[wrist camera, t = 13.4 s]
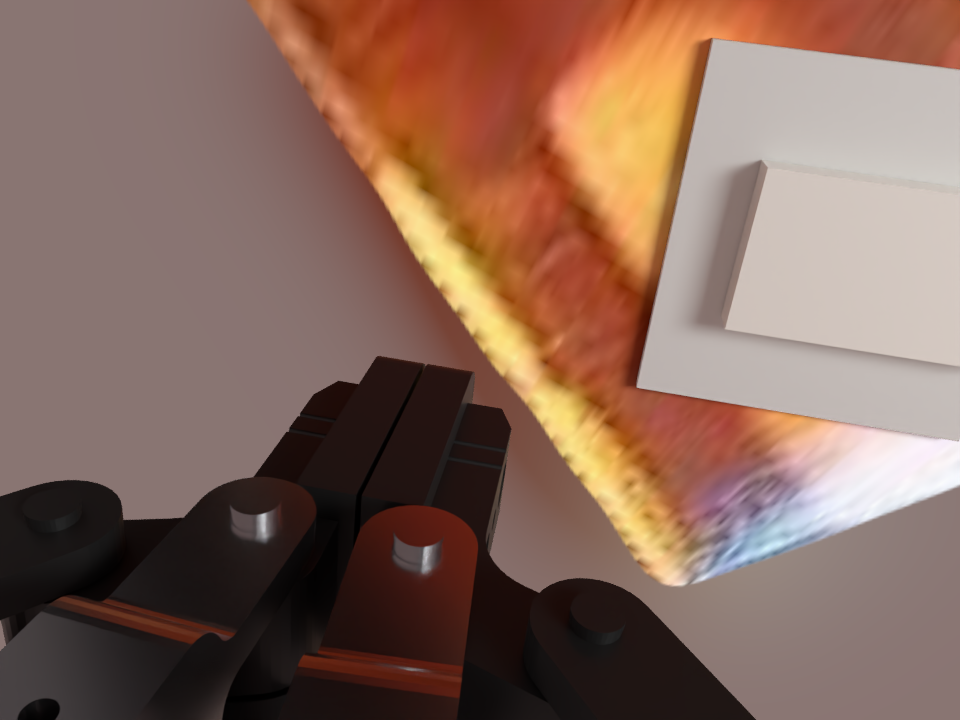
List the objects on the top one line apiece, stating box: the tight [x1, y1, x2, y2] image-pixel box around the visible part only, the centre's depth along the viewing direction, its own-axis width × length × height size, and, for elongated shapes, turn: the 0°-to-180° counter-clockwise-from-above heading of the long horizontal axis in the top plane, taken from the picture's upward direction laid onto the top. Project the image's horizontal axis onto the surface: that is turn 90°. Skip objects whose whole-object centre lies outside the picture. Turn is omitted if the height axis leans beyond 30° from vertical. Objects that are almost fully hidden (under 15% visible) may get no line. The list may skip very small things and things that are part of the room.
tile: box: [721, 160, 960, 367], centre depth 43 cm, size 9×2×15 cm
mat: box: [636, 38, 960, 441], centre depth 45 cm, size 20×19×1 cm
